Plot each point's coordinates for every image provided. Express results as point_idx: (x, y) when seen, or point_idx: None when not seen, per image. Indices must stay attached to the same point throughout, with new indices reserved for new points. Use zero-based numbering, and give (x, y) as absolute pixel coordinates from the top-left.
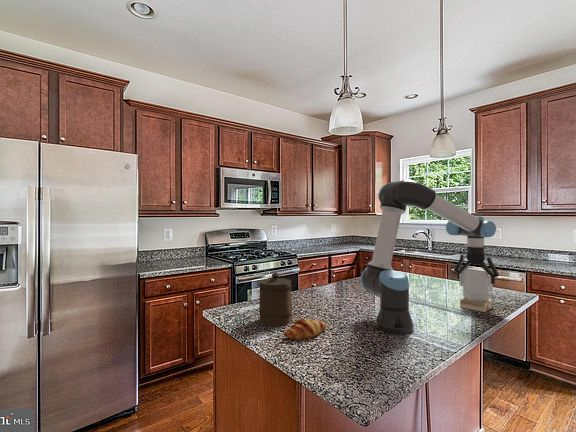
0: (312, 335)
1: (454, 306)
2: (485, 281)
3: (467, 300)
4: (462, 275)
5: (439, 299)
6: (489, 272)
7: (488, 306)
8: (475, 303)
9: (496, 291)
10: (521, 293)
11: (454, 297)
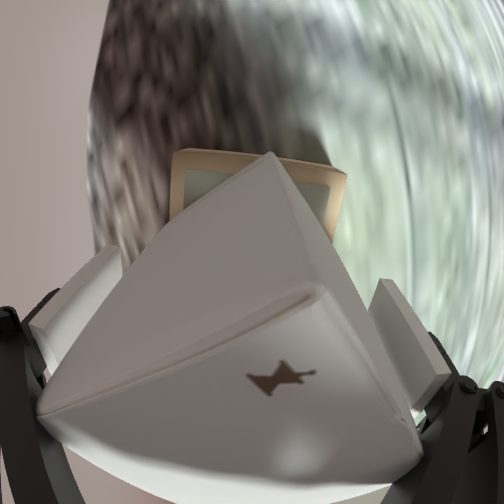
0: None
1: (362, 161)
2: (106, 300)
3: (294, 171)
4: (404, 385)
5: (441, 261)
6: (2, 382)
7: None
8: (234, 156)
9: None
10: None
11: None
